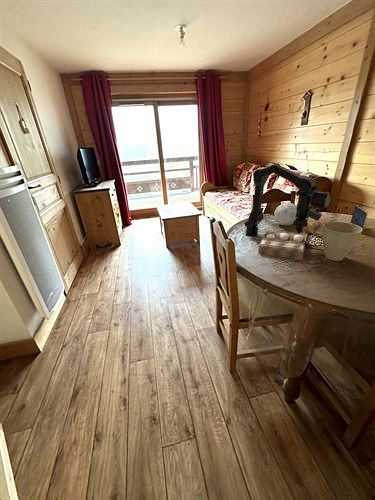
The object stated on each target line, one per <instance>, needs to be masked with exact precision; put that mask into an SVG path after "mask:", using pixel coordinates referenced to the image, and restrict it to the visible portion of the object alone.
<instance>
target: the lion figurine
mask: <svg viewBox="0 0 375 500" xmlns="http://www.w3.org/2000/svg"><path fill="white" fill-rule="evenodd" d="M324 223H325V222H324V221H323V220H321V221H316V222H314V223H312V222H310V221H308V224H307V227H303V228H302V231H303V234H306V231H305V230H306V228H308V229H309V231H310V230H311V231H312V236H313V237H315V236H316V235H318V233H317V232H320V231H323V224H324Z"/></svg>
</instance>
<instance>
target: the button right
mask: <svg viewBox="0 0 375 500" xmlns="http://www.w3.org/2000/svg"><path fill="white" fill-rule="evenodd" d="M302 235H303V234H302ZM302 235H294V239H293V241H297V242H302V241H303V236H302Z"/></svg>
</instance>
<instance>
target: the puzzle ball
mask: <svg viewBox="0 0 375 500" xmlns="http://www.w3.org/2000/svg"><path fill="white" fill-rule="evenodd" d="M296 208H297V205H295V204H294V203H291V202H284V203H281V204H280V205H278V206H277V207H276V209H275V211H274V219H275V222H277V224H278V225H281V226H286V227H287V226H290V225H293V221H294V219H295V218H297V217H295V215H296V210H297V209H296Z"/></svg>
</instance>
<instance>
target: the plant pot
mask: <svg viewBox="0 0 375 500" xmlns="http://www.w3.org/2000/svg"><path fill="white" fill-rule="evenodd" d="M361 232H362V233H363V230H362V228H361V227H359V226H357V225H355V224H351V223H350V222H344V221H327V222H324V224H323V229H322V247H323V253H324V256H325V258H326V259H327V260H329V261H335V262H339V261H340V262H341V261H342V260H344V259H345V258H346V256H347V255H348V254H349V253H350V251H351V250H352V249H353V247H354V246H355V245H356V243H357V241H358V239H359V237H360V236H361V235H362V233H361Z"/></svg>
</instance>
